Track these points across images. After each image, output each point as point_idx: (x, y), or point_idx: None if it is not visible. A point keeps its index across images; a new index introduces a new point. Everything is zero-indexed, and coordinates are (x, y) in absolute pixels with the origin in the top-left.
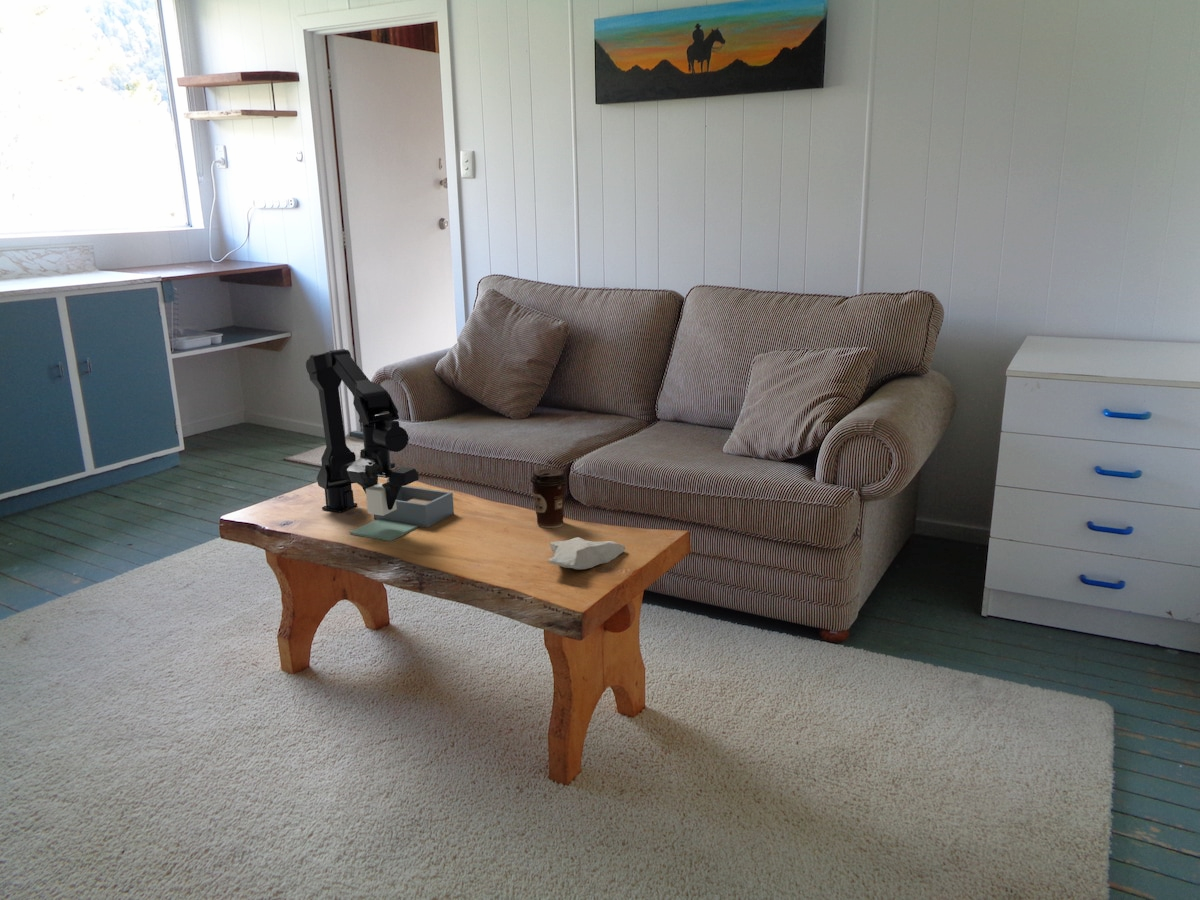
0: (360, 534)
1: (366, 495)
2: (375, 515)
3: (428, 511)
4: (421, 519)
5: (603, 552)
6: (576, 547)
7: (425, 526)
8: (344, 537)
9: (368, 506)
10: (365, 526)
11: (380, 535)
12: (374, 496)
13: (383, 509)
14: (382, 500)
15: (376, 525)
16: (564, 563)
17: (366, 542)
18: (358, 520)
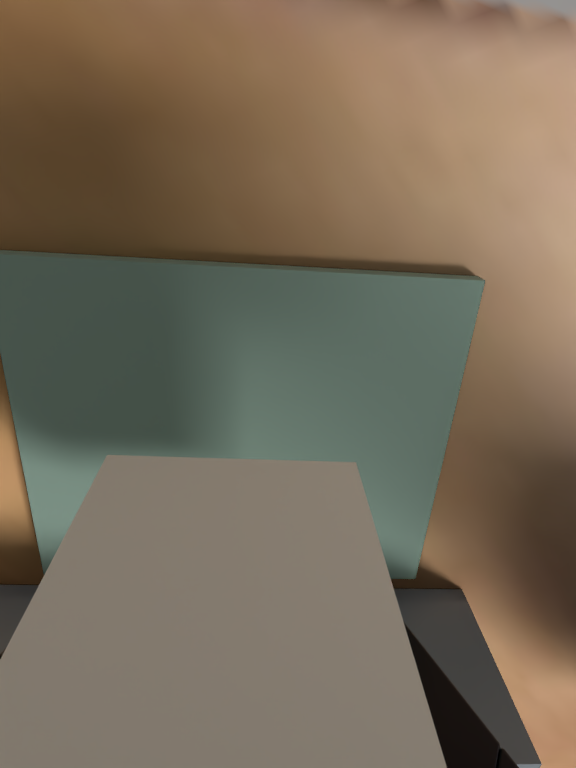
0: (357, 271)
1: (418, 699)
2: (457, 611)
3: None
4: (13, 632)
5: None
6: None
7: (4, 589)
8: (485, 179)
9: (351, 526)
10: (419, 437)
11: (147, 302)
12: (190, 706)
13: (80, 522)
14: (15, 650)
15: None
16: None
17: (186, 130)
18: (558, 537)
